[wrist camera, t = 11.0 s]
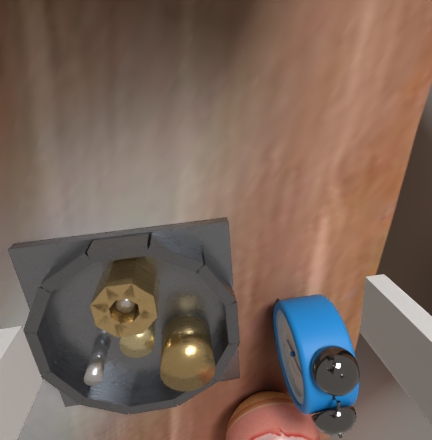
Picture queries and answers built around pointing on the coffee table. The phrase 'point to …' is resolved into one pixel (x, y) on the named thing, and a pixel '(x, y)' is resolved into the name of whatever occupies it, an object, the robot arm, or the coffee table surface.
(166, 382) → the carrier
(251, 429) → the vase
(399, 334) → the robot arm
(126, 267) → the octagonal brass tube
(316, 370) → the alarm clock
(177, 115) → the coffee table surface
